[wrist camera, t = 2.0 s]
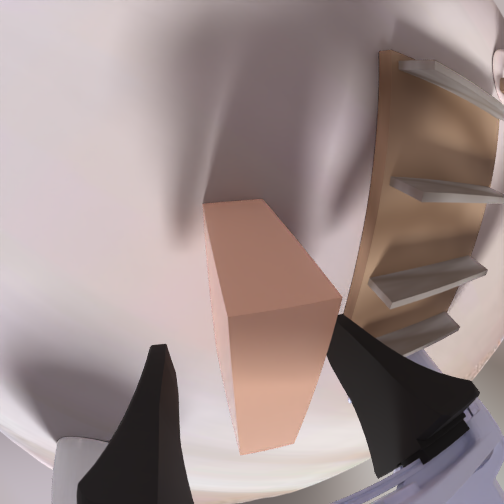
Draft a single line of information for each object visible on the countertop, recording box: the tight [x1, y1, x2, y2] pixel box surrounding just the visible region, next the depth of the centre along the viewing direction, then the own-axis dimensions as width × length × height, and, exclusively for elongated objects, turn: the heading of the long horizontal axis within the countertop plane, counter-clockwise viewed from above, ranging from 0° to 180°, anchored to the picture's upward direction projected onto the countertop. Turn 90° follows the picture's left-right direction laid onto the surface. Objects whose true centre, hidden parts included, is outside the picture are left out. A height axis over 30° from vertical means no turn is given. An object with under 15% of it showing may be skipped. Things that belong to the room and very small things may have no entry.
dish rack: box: [344, 50, 504, 357], centre depth 15 cm, size 20×13×4 cm, turn 179°
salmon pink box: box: [202, 199, 342, 455], centre depth 12 cm, size 10×3×8 cm, turn 179°
